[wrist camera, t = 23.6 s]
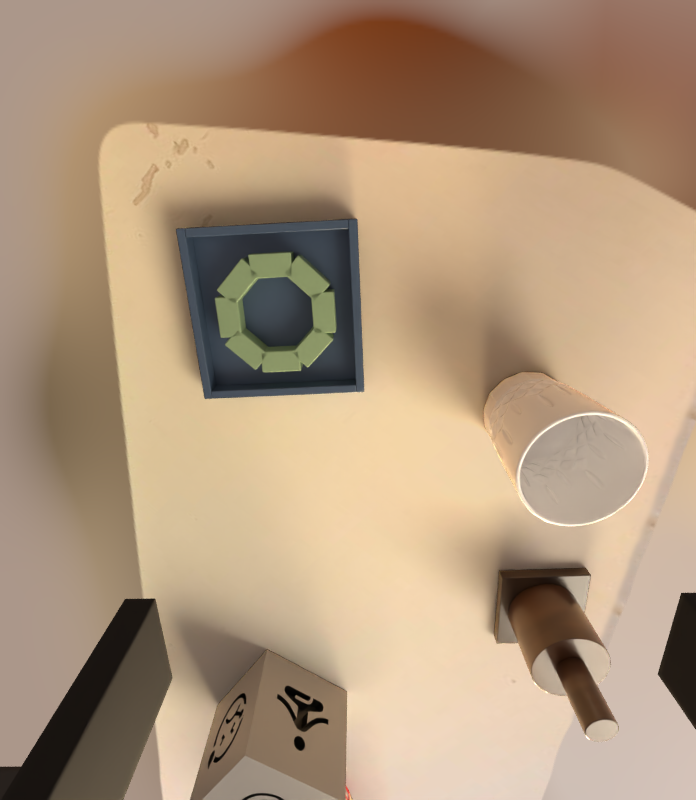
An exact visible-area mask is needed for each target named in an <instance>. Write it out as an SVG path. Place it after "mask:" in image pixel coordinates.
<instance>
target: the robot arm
mask: <svg viewBox="0 0 696 800" xmlns="http://www.w3.org/2000/svg"><path fill="white" fill-rule="evenodd" d="M658 675H659V677H660V678H661V680H662V681H663V682H664V684H665V685H666V687H667V688H668V689H669V691H670V692H671V694H672V695H673V697H674V698H675V700H676V701H677V703H678V704H679V706H680V707H681V708H682V710H683V712H684V713H685V714H686V716H687V717H688V719H689V720H690V722H691V723H692V725H693V726H694V728H695V729H696V593H681V596H680V599H679V603H678V606H677V610H676V613H675V617H674V620H673V623H672V627H671V631H670V634H669V638H668V641H667V644H666V648H665V651H664V655H663V658H662V661H661V665H660V669H659V672H658ZM171 680H172V673H171V669H170V664H169V660H168V655H167V650H166V646H165V641H164V637H163V632H162V627H161V623H160V618H159V614H158V609H157V604H156V600H155V599H125V600H124V602H123V604H122V605H121V607H120V608H119V610H118V612H117V613H116V615H115V617H114V618H113V620H112V621H111V623H110V624H109V626H108V628H107V629H106V631H105V633H104V634H103V636H102V637H101V639H100V641H99V642H98V644H97V645H96V647H95V649H94V650H93V652H92V654H91V655H90V657H89V658H88V660H87V662H86V663H85V665H84V666H83V668H82V670H81V671H80V673H79V674H78V676H77V678H76V679H75V681H74V683H73V684H72V686H71V687H70V689H69V691H68V692H67V694H66V695H65V697H64V699H63V700H62V702H61V704H60V705H59V707H58V709H57V710H56V712H55V713H54V715H53V716H52V718H51V720H50V721H49V723H48V725H47V726H46V728H45V729H44V731H43V733H42V734H41V736H40V737H39V739H38V741H37V742H36V744H35V746H34V747H33V749H32V750H31V752H30V754H29V755H28V757H27V758H26V760H25V762H24V763H23V765H22V766H21V767H0V800H123V799H124V796H125V794H126V791H127V789H128V787H129V784H130V782H131V779H132V777H133V774H134V772H135V769H136V767H137V764H138V762H139V759H140V757H141V754H142V752H143V749H144V747H145V745H146V742H147V739H148V737H149V734H150V732H151V730H152V727H153V725H154V722H155V720H156V717H157V715H158V712H159V710H160V707H161V705H162V703H163V700H164V698H165V695H166V693H167V690H168V688H169V685H170V683H171Z"/></svg>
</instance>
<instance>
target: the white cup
mask: <svg viewBox="0 0 696 800" xmlns="http://www.w3.org/2000/svg"><path fill="white" fill-rule="evenodd" d="M483 414H484V424H485V429H486V430H487V432H488V434H489V436H490V437H491V440H492V443H493V446H494V448H495V450H496V452H497V454H498V456H499V458H500V461H501V463H502V465H503V467H504V469H505V470H506V472H507V474H508V476H509V478H510V480H511V482H512V483H513V485H514V487H515V489H516V491H517V493H518V495H519V497H520V499H521V500H522V502H523V504H524V505H525V506H526V508H527V509H528V510H529V511H530V512H531V513H533V514H534V515H535V516H537V517H538V518H540V519H542V520H544V521H546V522H549V523H552V524H556V525H562V526H581V525H587V524H591V523H595V522H598V521H601V520H603V519H605V518H607V517H609V516H611V515H613V514H615V513H616V512H618V511H619V510H620V509H622V508H623V507H624V506H625V505H627V504H628V503H629V502H630V501H631V500H632V498H633V497H634V496H635V495H636V494H637V492H638V491H639V489H640V487H641V486H642V484H643V482H644V479H645V477H646V474H647V470H648V463H649V455H648V449H647V445H646V442H645V440H644V438H643V436H642V434H641V433H640V432H639V430H638V429H637V428H636V427H635V426H634V425H633V424H632V423H630V422H629V421H628V420H626V419H624V418H623V417H621V416H619V415H618V414H616V413H614V412H613V411H611V410H609V409H608V408H606V407H604V406H603V405H601V404H599V403H598V402H596V401H594V400H593V399H591V398H590V397H588V396H586V395H584V394H582V393H580V392H579V391H577V390H575V389H573V388H571V387H570V386H568V385H566V384H563V383H560V382H558V381H556V380H555V379H553V378H551V377H549V376H547V375H545V374H543V373H537V372H521V373H519V374H516V375H514V376H511V377H509V378H506V379H504V380H503V381H502V382H501V383H500V384H499V385H498V386H497V387H495V388H494V389H493V390H492V391H491V392H490V394H489V396H488V399H487V401H486V404H485V407H484V409H483Z"/></svg>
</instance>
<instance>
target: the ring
mask: <svg viewBox="0 0 696 800" xmlns="http://www.w3.org/2000/svg"><path fill="white" fill-rule="evenodd" d="M248 257H249V259H248V258H242V259H240V261H239V262H238V263H237V264H236V266H235V267H234V268H233V270H232V271H231V272H230V273H229V275H228V276H227V277H226V278H225V280H224V281H223V282H222V284H221V285H220V286H219V287H218V289H217V291H218V292H219V293H220V294H221V295H220V296H218V297H216V298H215V304H216V311H217V317H218V324H219V331H220V337H221V338H229V339H228V341H227V342H226V343H225V345H226V346H227V347H228V348H229V349H230V350H232V351H233V352H234V353H235V354H237V355H238V356H239V357H240V358H241V359H243V360H244V361H245V362H246V363H248V364H249V365H250V366H251V367H252V368H254V369H255V370H256V369H257V368H258V367H259V366H260V365H261V364H262V371H263V372H285V371H301V369H302V366H303V364H304V365H305V366H306V367H309V366H310V365H311V364H312V363H313V361H314V360H315V359H316V358H317V357H318V356H319V355H320V354H321V353H322V352H323V350H324V349H325V348H326V347H327V346H328V345H329V344H330V343H331V342H332V341H333V337H334V334H333V333H335V332H336V328H337V325H336V308H335V291H334V289H327V287H328V286H329V285H330V283H331V282H330V281H329V280H328V279H327V278H326V277H325V276H324V275H323V274H322V273H321V272H319V271H318V270H317V269H316V268H315V267H314V266H313V265H312V264H311V263H310V262H309V261H308V260H306V259H305V258H304V257H303V256H302V255H298V256H297V257H296V258H295V260H294V253H293V251H291V252H272V253H253V254H249V255H248ZM275 277H288V278H289V279H290V280H292V281H293V282H294V283H295V284H296V285H297V286H298V287H299V288H300V289H302V290H303V291H304V292H305V293H306V294H307V295H308V296H309V297H311V303H312V316H313V328H312V329H311V330H310V331H309V332H308V333H307V334H306V335H305V337H304V338H303V339H302V340H301V341H300V342H299V343H298V344H297V345H296V346H275V347H268V346H267V345H266V344H265V343H263V342H262V341H261V340H260V339H259V338H257V337H256V336H255V335H254V334H253V333H251V332H250V331H249V330H248V329H247V328H246V323H245V316H244V308H243V300H242V299H243V297H244V296H245V295H246V294H247V293H248V291H249V290H250V289H251V288H252V286H253V285H254V284H255V283H256V281H257V280H258V279H259V278H275Z"/></svg>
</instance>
